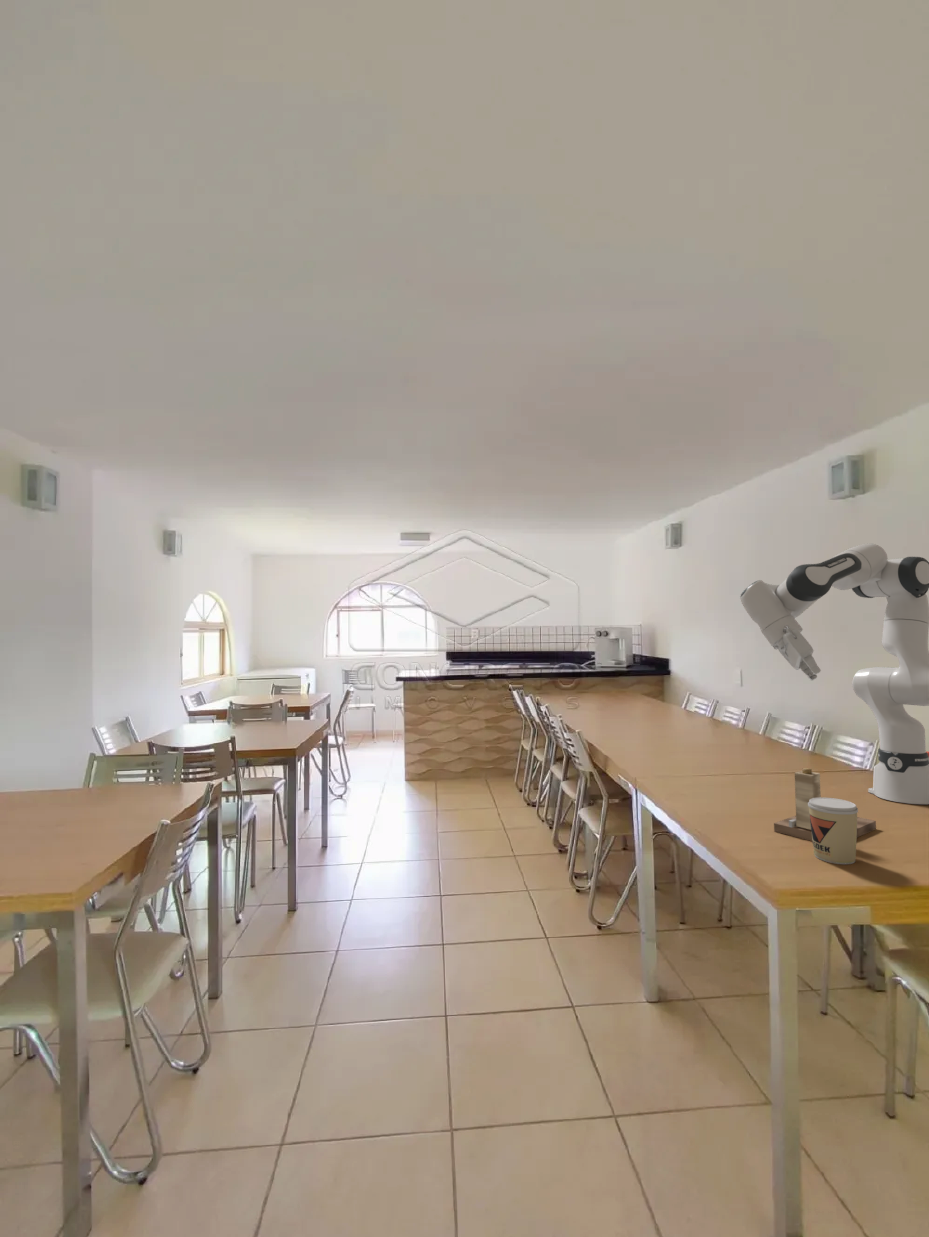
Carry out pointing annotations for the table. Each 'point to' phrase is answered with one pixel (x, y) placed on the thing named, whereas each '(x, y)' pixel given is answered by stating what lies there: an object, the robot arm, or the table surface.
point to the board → (791, 829)
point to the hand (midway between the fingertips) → (816, 676)
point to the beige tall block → (805, 795)
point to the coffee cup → (833, 829)
